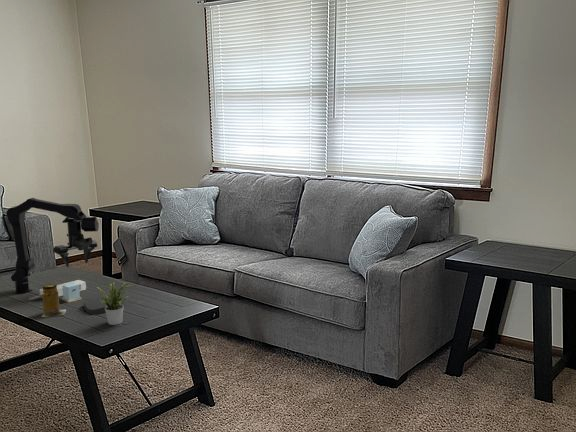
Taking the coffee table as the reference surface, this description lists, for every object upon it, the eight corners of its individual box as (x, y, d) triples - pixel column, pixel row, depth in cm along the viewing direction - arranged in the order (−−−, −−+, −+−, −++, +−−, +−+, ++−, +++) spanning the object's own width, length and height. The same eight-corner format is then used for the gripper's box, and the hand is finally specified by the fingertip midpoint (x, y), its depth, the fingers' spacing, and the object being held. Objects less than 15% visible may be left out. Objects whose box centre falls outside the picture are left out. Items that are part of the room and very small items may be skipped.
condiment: (44, 311, 225) (42, 283, 223) (66, 309, 227) (64, 282, 225) (41, 317, 218) (38, 288, 216) (63, 315, 220) (61, 287, 218)
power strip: (26, 300, 239) (26, 292, 239) (79, 286, 258) (78, 279, 258) (36, 304, 234) (35, 296, 233) (89, 290, 253) (88, 282, 253)
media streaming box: (89, 316, 220) (88, 309, 220) (82, 306, 233) (81, 299, 232) (125, 309, 228) (125, 302, 227) (117, 300, 240) (116, 293, 240)
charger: (60, 297, 241) (59, 284, 240) (71, 294, 245) (70, 281, 244) (69, 300, 237) (68, 287, 236) (80, 297, 240) (79, 284, 239)
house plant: (144, 322, 212) (141, 281, 209) (111, 332, 202) (109, 290, 199) (124, 313, 222) (121, 275, 219) (92, 323, 211) (89, 282, 209)
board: (61, 299, 240) (61, 298, 240) (74, 296, 244) (74, 295, 244) (69, 302, 236) (68, 301, 236) (81, 299, 241) (81, 297, 241)
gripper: (64, 237, 237) (66, 272, 240) (102, 230, 251) (104, 263, 254) (51, 234, 244) (54, 268, 247) (89, 227, 258) (92, 259, 261)
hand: (77, 264), depth 252 cm, fingers open, 9 cm apart
